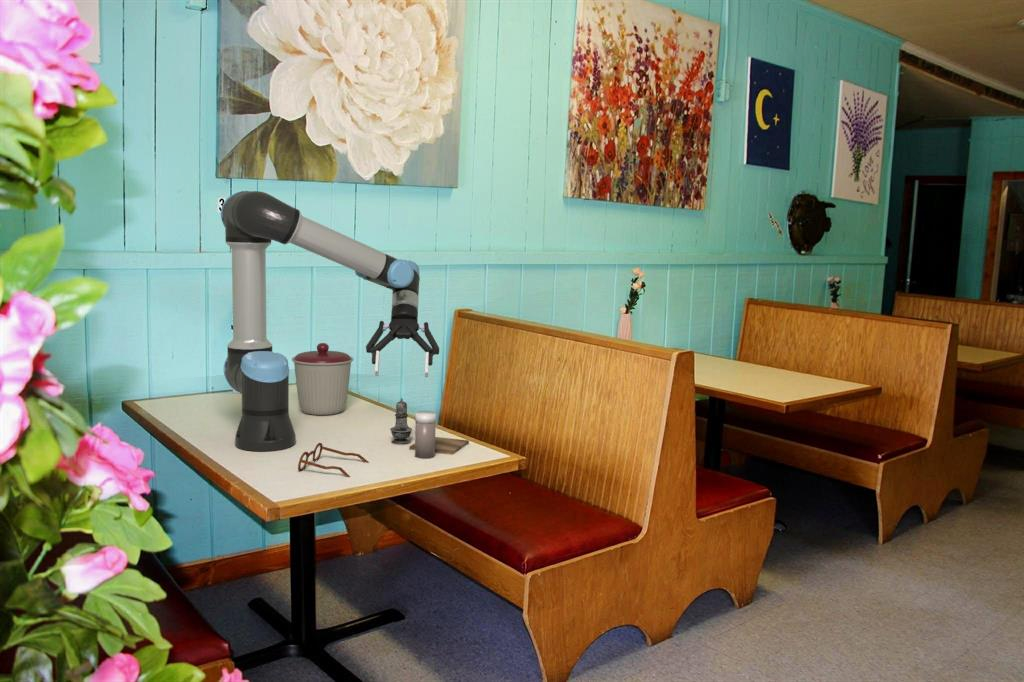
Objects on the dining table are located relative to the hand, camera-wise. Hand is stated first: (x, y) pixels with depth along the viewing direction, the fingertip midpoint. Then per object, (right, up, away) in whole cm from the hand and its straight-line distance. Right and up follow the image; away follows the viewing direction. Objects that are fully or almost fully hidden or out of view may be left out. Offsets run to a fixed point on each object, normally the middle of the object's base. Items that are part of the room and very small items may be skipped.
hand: (401, 374), depth 244 cm
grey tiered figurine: (+1, -18, -7) cm, 19 cm away
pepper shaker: (+8, -20, -19) cm, 29 cm away
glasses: (-12, -22, -32) cm, 40 cm away
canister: (-27, -12, +25) cm, 39 cm away
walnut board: (+11, -19, -10) cm, 24 cm away
